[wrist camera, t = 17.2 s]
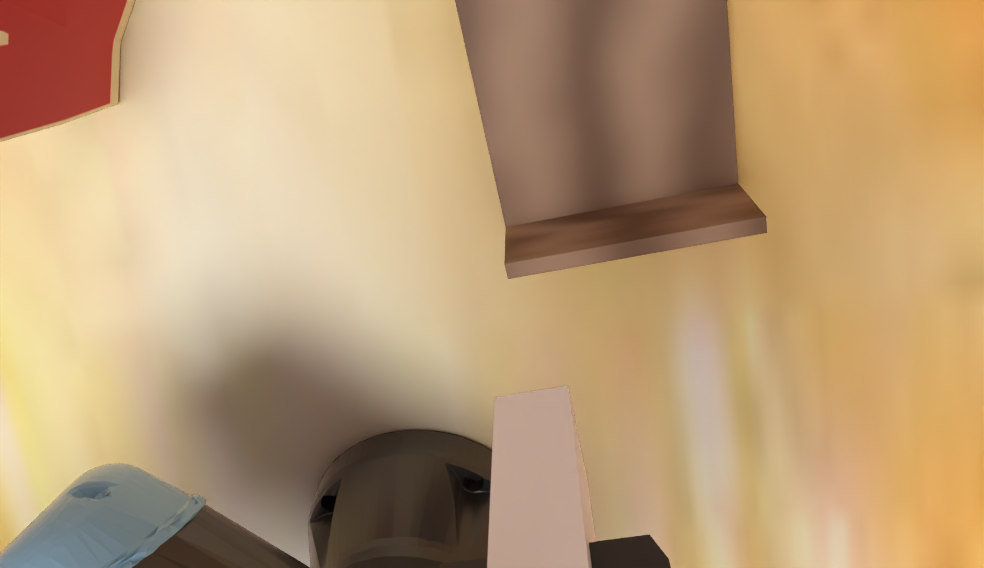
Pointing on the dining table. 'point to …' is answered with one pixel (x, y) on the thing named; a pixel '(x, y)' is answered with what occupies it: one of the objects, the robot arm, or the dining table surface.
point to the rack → (607, 127)
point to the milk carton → (58, 61)
